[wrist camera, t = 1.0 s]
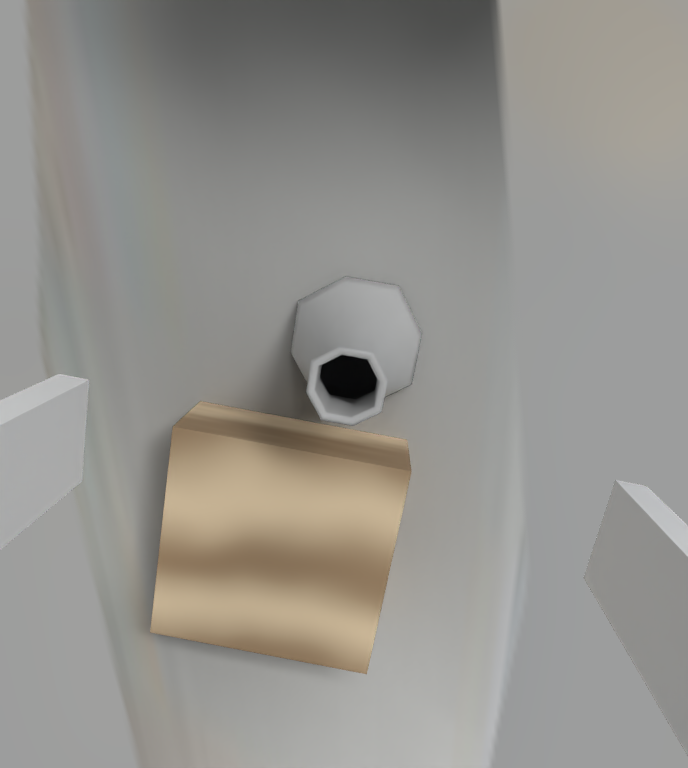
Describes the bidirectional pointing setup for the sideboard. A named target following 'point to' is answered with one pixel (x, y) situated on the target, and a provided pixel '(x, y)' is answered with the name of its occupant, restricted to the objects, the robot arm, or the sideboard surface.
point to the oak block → (278, 535)
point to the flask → (355, 347)
